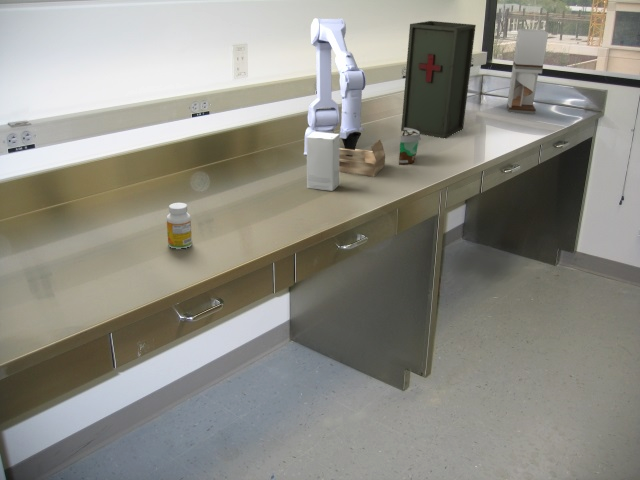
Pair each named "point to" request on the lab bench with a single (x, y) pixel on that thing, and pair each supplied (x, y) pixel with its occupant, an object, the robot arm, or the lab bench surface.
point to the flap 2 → (378, 150)
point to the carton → (362, 165)
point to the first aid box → (437, 77)
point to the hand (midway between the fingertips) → (349, 156)
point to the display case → (526, 69)
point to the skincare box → (323, 161)
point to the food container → (408, 146)
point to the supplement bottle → (179, 226)
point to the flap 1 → (355, 153)
